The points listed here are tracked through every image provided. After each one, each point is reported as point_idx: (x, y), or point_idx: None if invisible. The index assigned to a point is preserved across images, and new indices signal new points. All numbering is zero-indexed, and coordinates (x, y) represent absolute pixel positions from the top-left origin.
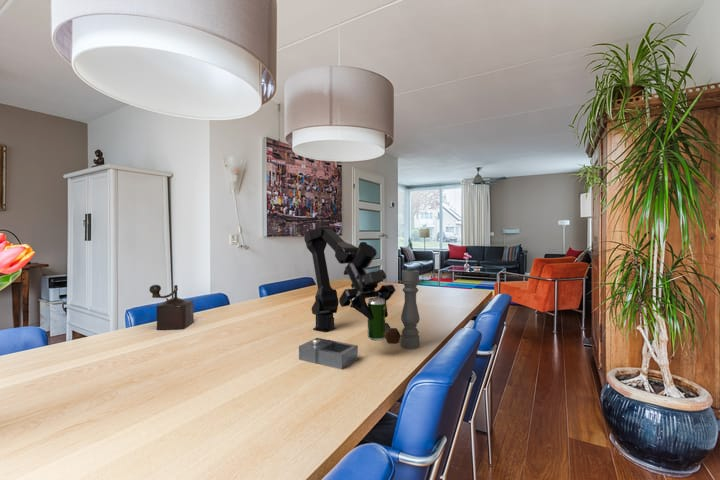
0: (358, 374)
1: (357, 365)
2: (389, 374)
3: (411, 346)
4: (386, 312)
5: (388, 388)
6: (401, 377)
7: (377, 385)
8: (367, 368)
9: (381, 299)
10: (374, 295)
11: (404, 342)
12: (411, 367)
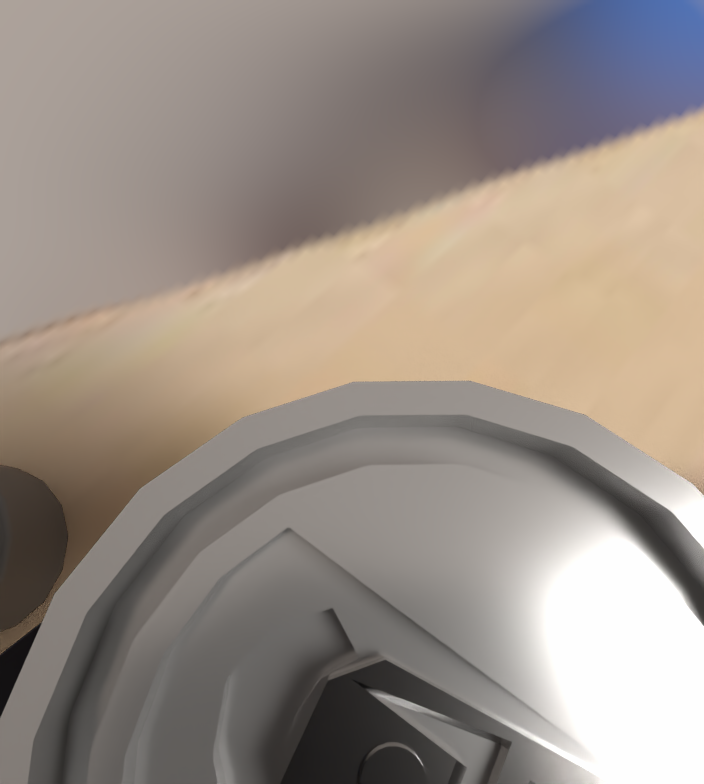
0: (696, 379)
1: None
2: (526, 262)
3: (32, 484)
4: None
5: (645, 149)
6: (495, 194)
7: (677, 205)
8: (589, 415)
9: (146, 713)
10: None
11: (38, 541)
12: (338, 251)
